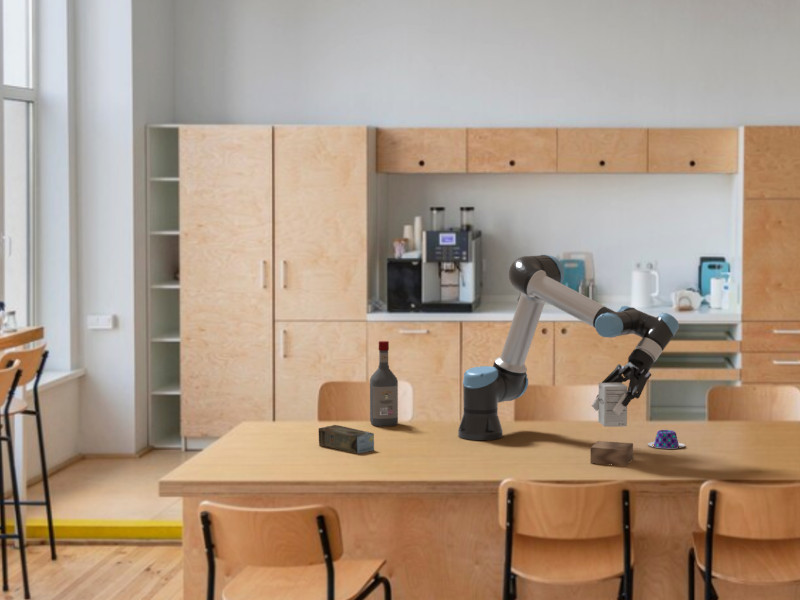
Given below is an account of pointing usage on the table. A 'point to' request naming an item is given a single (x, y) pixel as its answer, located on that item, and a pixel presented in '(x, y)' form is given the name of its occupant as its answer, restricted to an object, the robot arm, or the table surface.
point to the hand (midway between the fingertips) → (604, 410)
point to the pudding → (666, 440)
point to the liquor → (383, 392)
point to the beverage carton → (346, 439)
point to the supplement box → (611, 404)
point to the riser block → (611, 453)
